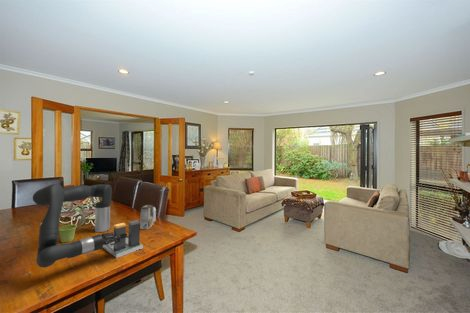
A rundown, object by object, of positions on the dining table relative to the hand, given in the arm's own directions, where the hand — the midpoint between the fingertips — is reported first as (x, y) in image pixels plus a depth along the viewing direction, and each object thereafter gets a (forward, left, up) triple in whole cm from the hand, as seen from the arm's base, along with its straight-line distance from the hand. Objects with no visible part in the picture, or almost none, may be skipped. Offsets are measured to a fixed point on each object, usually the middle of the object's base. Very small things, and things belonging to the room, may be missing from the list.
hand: (124, 234), depth 119 cm
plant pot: (-40, -17, -10) cm, 45 cm away
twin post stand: (-5, +1, -10) cm, 11 cm away
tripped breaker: (0, -3, -8) cm, 8 cm away
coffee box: (-25, +28, -10) cm, 39 cm away
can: (-33, +36, -10) cm, 50 cm away
